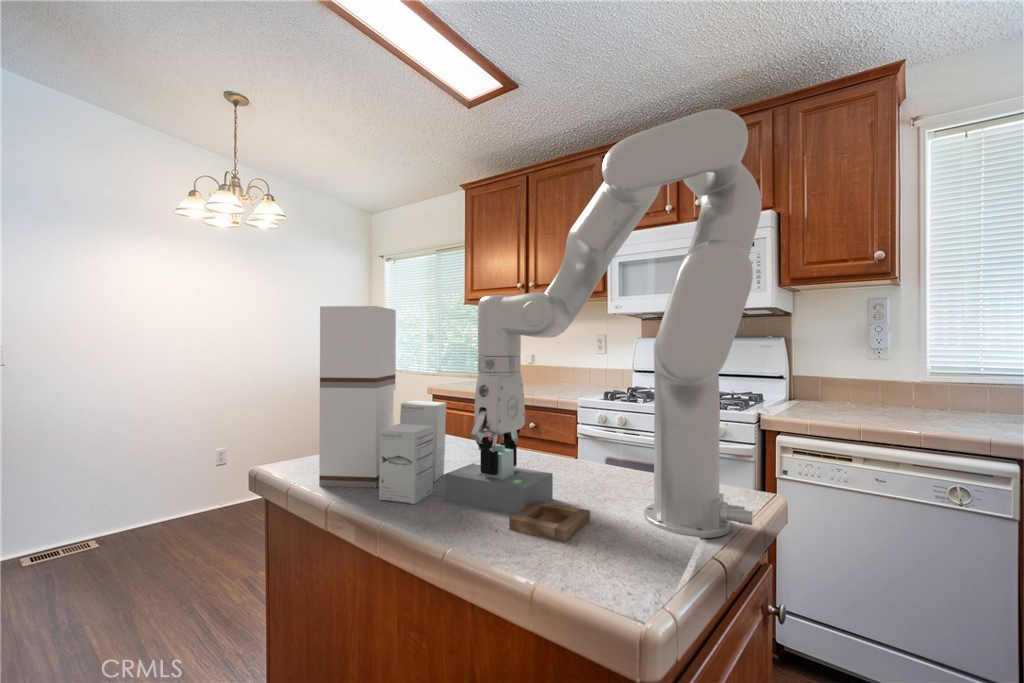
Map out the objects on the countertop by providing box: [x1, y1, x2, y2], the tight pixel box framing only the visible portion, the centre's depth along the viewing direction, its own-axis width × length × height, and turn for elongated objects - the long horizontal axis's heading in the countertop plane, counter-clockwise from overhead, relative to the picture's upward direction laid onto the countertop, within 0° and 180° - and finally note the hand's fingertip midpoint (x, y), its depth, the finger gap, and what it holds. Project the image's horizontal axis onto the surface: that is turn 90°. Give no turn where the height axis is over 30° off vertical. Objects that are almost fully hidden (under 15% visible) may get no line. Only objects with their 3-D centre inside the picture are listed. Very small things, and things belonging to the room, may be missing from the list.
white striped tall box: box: [318, 305, 397, 489], centre depth 96 cm, size 11×11×35 cm
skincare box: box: [399, 400, 447, 483], centre depth 98 cm, size 8×7×16 cm
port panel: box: [444, 461, 554, 516], centre depth 82 cm, size 16×10×5 cm, turn 59°
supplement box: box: [378, 423, 434, 505], centre depth 85 cm, size 7×7×13 cm
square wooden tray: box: [508, 501, 591, 544], centre depth 70 cm, size 9×9×2 cm
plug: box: [482, 444, 514, 480], centre depth 82 cm, size 4×4×9 cm
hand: (498, 468), depth 82 cm, fingers open, 5 cm apart
